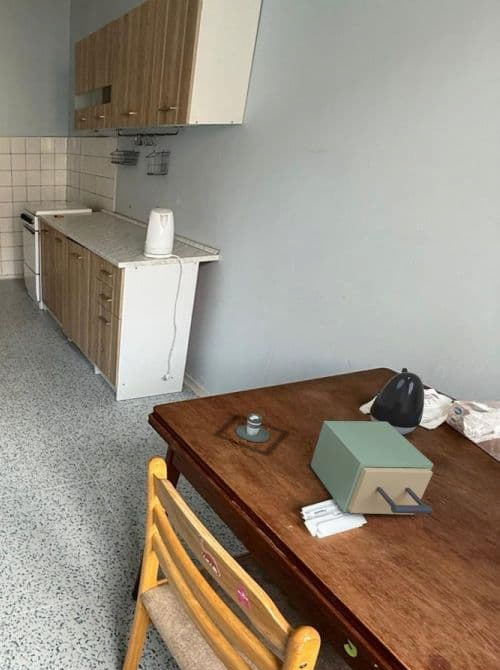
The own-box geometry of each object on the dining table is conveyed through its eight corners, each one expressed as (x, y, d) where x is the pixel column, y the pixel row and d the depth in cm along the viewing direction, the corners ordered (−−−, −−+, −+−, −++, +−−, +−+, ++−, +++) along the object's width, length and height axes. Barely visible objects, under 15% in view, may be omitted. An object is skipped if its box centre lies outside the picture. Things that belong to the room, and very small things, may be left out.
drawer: (436, 539, 82) (457, 495, 78) (368, 537, 83) (386, 494, 78) (374, 470, 100) (389, 431, 95) (318, 469, 100) (330, 430, 96)
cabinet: (411, 513, 89) (434, 464, 84) (343, 512, 90) (360, 463, 85) (370, 467, 102) (387, 421, 97) (310, 465, 103) (323, 420, 97)
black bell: (410, 422, 117) (432, 367, 110) (418, 444, 109) (443, 386, 102) (362, 414, 121) (381, 361, 114) (367, 435, 113) (387, 378, 106)
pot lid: (285, 432, 115) (290, 415, 112) (266, 453, 107) (270, 435, 105) (238, 415, 122) (241, 399, 120) (216, 434, 115) (219, 417, 112)
